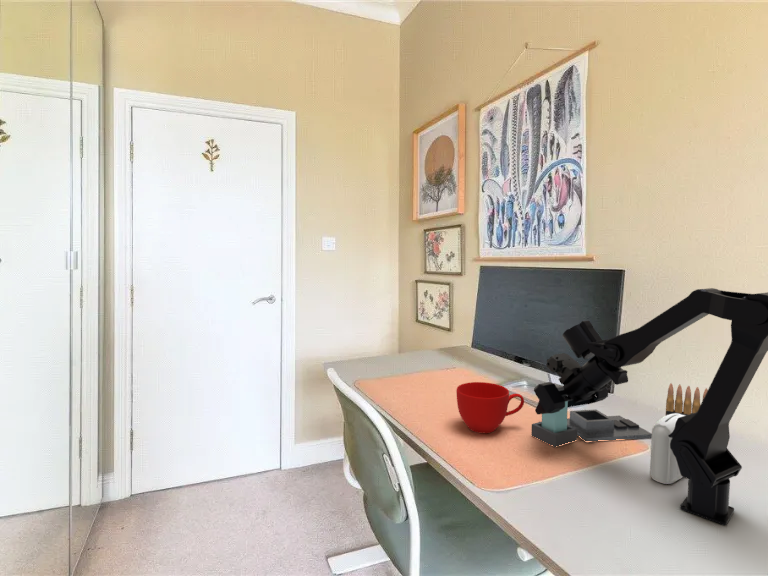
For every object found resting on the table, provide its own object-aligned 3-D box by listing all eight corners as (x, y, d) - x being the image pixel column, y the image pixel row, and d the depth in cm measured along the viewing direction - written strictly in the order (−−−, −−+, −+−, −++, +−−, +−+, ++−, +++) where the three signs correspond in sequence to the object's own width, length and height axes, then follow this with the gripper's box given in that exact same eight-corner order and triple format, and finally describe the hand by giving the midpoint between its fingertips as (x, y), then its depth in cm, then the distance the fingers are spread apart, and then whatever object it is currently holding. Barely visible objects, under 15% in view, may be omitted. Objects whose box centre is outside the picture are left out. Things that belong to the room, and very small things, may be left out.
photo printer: (670, 464, 93) (673, 406, 92) (693, 472, 89) (697, 413, 88) (645, 478, 87) (648, 417, 86) (669, 487, 83) (673, 424, 82)
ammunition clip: (717, 438, 105) (720, 389, 104) (717, 441, 104) (720, 391, 102) (664, 428, 111) (666, 381, 110) (663, 430, 110) (666, 383, 109)
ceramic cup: (531, 439, 105) (532, 398, 104) (460, 438, 105) (460, 398, 105) (516, 418, 118) (516, 382, 117) (452, 418, 118) (453, 381, 117)
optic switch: (652, 438, 105) (653, 422, 105) (586, 442, 103) (586, 426, 103) (619, 419, 117) (620, 404, 117) (559, 422, 115) (559, 407, 114)
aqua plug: (566, 440, 104) (568, 386, 103) (554, 443, 103) (556, 389, 101) (553, 433, 108) (554, 382, 107) (541, 437, 106) (542, 384, 105)
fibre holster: (576, 441, 104) (577, 428, 103) (555, 447, 100) (555, 435, 100) (552, 430, 110) (552, 418, 110) (531, 436, 107) (531, 424, 106)
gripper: (598, 340, 104) (559, 374, 115) (541, 349, 95) (504, 385, 106) (629, 382, 97) (584, 414, 108) (570, 395, 89) (528, 428, 100)
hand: (550, 409), depth 106 cm, fingers open, 9 cm apart
